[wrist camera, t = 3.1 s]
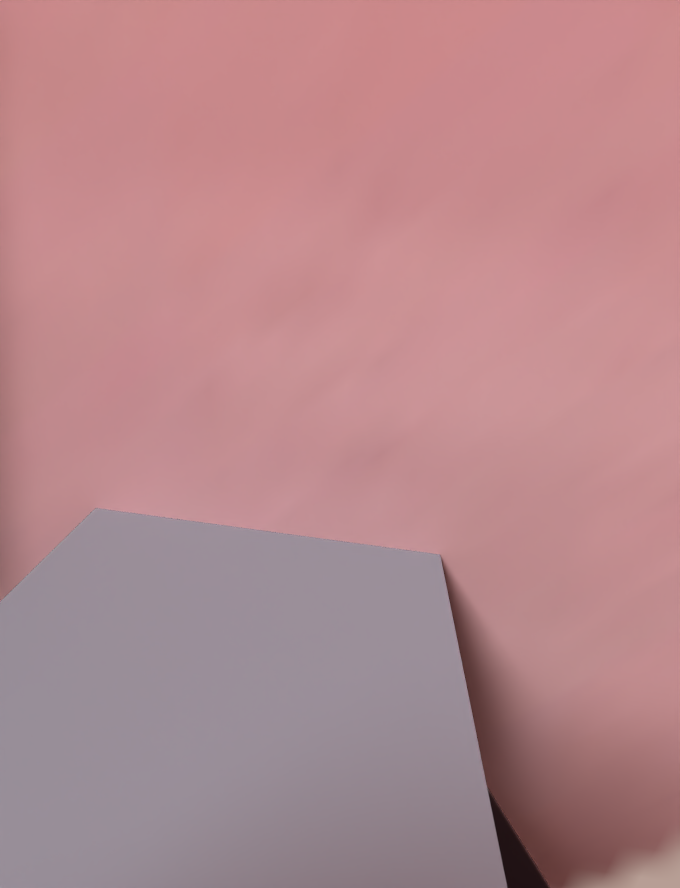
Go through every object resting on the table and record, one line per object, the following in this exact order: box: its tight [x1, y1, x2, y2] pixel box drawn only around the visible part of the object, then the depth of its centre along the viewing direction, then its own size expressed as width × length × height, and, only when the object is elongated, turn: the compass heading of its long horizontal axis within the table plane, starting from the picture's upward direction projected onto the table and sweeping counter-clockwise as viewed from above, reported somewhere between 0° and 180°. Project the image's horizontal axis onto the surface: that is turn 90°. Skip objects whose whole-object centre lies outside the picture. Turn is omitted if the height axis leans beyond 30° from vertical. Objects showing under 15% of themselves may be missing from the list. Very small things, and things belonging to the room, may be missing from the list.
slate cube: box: [0, 508, 507, 888], centre depth 7 cm, size 5×5×5 cm
